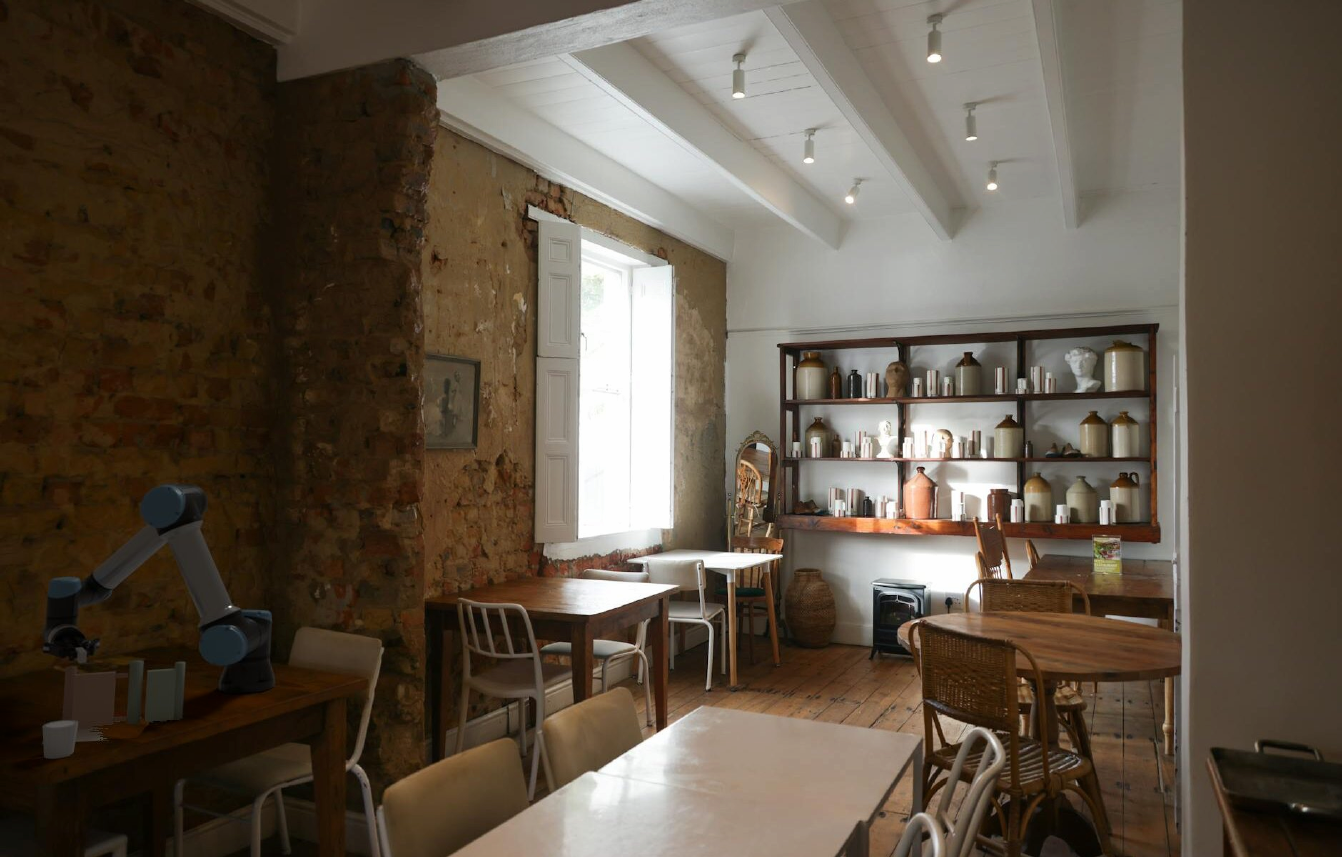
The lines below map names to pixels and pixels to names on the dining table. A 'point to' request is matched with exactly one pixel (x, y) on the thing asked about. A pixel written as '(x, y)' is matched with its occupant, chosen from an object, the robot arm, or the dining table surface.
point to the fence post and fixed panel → (156, 693)
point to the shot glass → (59, 738)
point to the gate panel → (90, 697)
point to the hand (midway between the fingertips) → (83, 657)
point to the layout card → (88, 734)
